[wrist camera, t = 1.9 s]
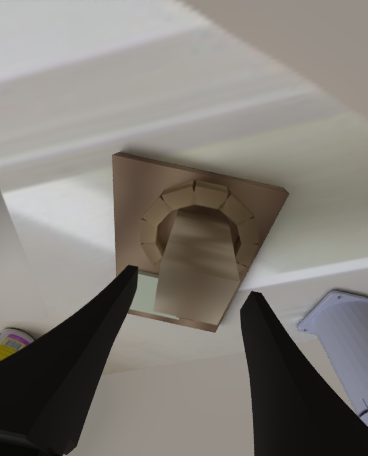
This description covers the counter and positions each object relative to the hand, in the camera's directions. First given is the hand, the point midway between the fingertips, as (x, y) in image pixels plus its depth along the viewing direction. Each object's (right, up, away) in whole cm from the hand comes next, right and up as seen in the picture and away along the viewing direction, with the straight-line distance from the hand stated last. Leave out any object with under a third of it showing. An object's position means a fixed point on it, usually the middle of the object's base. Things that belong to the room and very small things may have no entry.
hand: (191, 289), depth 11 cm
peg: (+1, +3, +5) cm, 6 cm away
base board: (-1, 0, +9) cm, 9 cm away
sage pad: (-4, -4, +11) cm, 12 cm away
